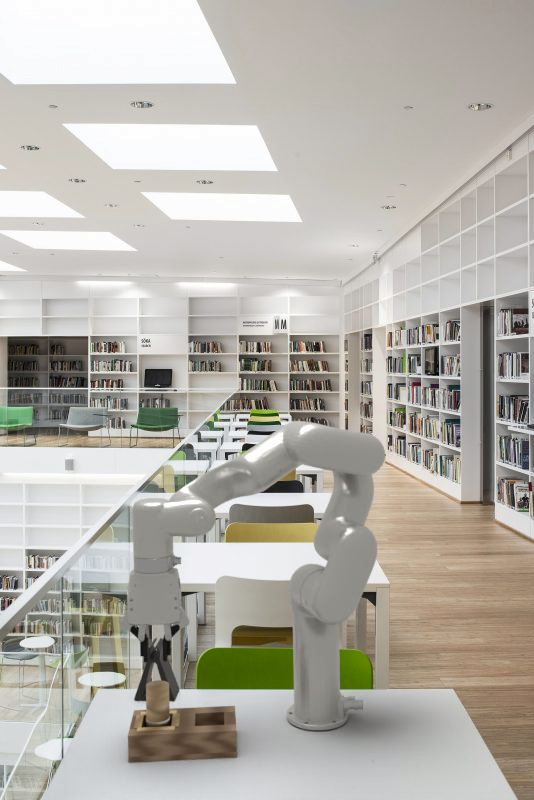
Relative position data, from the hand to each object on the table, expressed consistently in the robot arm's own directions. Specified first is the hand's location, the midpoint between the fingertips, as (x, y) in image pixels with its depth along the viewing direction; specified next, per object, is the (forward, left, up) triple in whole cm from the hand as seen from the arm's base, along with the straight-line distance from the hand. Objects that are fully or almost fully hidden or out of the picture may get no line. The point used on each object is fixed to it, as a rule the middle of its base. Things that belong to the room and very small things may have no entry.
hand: (155, 658), depth 150 cm
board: (-5, 0, -17) cm, 18 cm away
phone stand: (+2, -24, -17) cm, 30 cm away
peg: (0, 0, -16) cm, 16 cm away
